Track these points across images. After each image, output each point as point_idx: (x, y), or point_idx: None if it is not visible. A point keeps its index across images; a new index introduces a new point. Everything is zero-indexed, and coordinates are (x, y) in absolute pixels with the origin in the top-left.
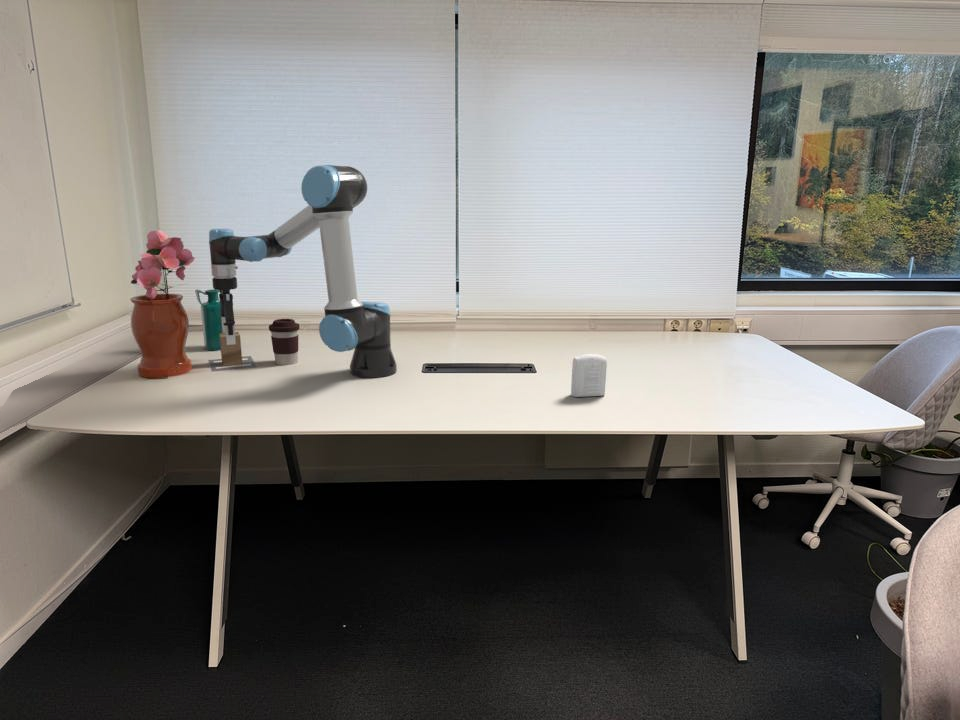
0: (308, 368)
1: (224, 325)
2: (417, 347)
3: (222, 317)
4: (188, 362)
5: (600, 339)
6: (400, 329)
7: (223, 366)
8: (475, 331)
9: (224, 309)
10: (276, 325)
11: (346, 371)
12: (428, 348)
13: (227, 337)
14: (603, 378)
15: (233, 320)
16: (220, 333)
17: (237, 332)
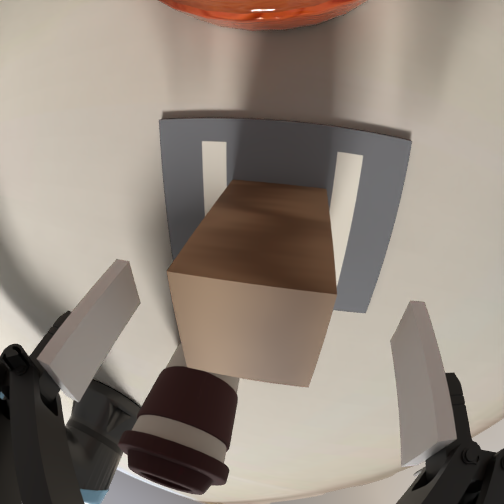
0: (145, 366)
1: (16, 347)
2: (245, 469)
3: (433, 444)
4: (189, 11)
5: (209, 493)
6: (369, 480)
7: (231, 178)
8: (295, 494)
9: (21, 493)
10: (132, 456)
11: (116, 387)
12: (233, 469)
13: (92, 296)
14: None
15: (5, 399)
16: (329, 302)
17: (292, 382)
